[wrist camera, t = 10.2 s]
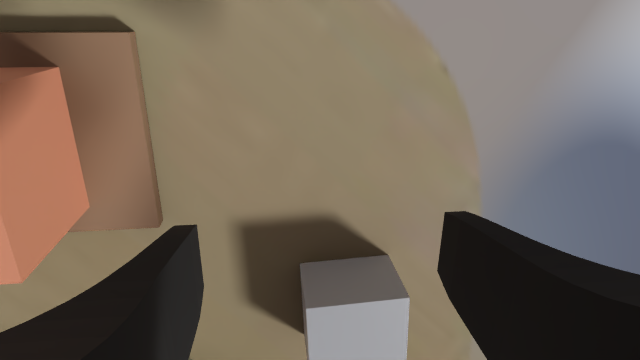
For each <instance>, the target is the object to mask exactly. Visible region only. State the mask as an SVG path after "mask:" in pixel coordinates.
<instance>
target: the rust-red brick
mask: <svg viewBox="0 0 640 360" xmlns="http://www.w3.org/2000/svg"><path fill="white" fill-rule="evenodd" d="M89 207H90V206H89V201H88V197H87V192H86V188H85V183H84V179H83V174H82V170H81V165H80V161H79V156H78V152H77V147H76V143H75V138H74V134H73V129H72V125H71V120H70V116H69V111H68V106H67V102H66V97H65V93H64V88H63V84H62V79H61V75H60V70H59V67H4V68H0V284H14V283H23V281H24V280H25V279H26V278H27V277H28V276H29V275H30V274H31V272H32V271H33V270H34V269H35V268H36V267H37V266H38V265H39V263H40V262H41V261H42V260H43V259H44V258H45V257H46V256H47V254H48V253H49V252H50V251H51V250H52V249H53V248H54V247H55V245H56V244H57V243H58V242H59V241H60V240H61V239H62V238H63V236H64V235H65V234H66V233H67V232H68V231H69V230H70V229H71V227H72V226H73V225H74V224H75V223H76V222H77V221H78V220H79V218H80V217H81V216H82V215H83V214H84V213H85V212H86V211H87V209H88V208H89Z"/></svg>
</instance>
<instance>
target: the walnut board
mask: <svg viewBox="0 0 640 360" xmlns="http://www.w3.org/2000/svg"><path fill="white" fill-rule="evenodd" d="M4 67H59V70H60V75H61V79H62V84H63V88H64V93H65V97H66V102H67V106H68V111H69V116H70V120H71V125H72V129H73V134H74V138H75V143H76V147H77V152H78V156H79V161H80V165H81V170H82V174H83V179H84V183H85V188H86V192H87V197H88V201H89V206H90V207H89V208H88V209H87V211H86V212H85V213H84V214H83V215H82V216H81V217H80V218H79V220H78V221H77V222H76V223H75V224H74V225H73V226H72V227H71V229H70V230H69V231H68V232H78V231H98V230H118V229H138V228H158V227H160V225H161V223H162V221H163V217H162V210H161V204H160V197H159V190H158V184H157V177H156V170H155V164H154V157H153V150H152V144H151V137H150V130H149V124H148V117H147V110H146V104H145V97H144V90H143V84H142V77H141V70H140V64H139V57H138V50H137V44H136V37H135V32H0V68H4Z"/></svg>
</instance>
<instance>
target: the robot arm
mask: <svg viewBox="0 0 640 360" xmlns="http://www.w3.org/2000/svg"><path fill="white" fill-rule="evenodd" d="M437 271H438V274H439V276H440V278H441V281H442V283H443V286H444V288H445V290H446V292H447V295H448V297H449V299H450V301H451V302H452V304H453V306H454V307H455V309H456V311H457V312H458V314H459V315H460V317H461V319H462V320H463V322H464V323H465V325H466V327H467V328H468V330H469V331H470V333H471V335H472V336H473V338H474V339H475V341H476V342H477V344H478V345H479V347H480V349H481V350H482V352H483V354H484V355H485V357H486V358H487V360H640V275H639V274H634V273H630V272H626V271H622V270H619V269H615V268H612V267H608V266H605V265H601V264H598V263H595V262H592V261H589V260H585V259H583V258H579V257H576V256H573V255H571V254H568V253H565V252H562V251H560V250H557V249H555V248H552V247H550V246H547V245H545V244H542V243H540V242H537V241H535V240H532V239H530V238H528V237H525V236H523V235H520V234H519V233H516V232H514V231H512V230H510V229H507V228H505V227H502V226H501V225H498V224H496V223H494V222H492V221H489V220H487V219H485V218H482V217H480V216H477V215H475V214H472V213H469V212H466V211H459V212H445V215H444V223H443V231H442V239H441V246H440V254H439V262H438V270H437ZM203 289H204V283H203V274H202V266H201V257H200V249H199V240H198V232H197V225H181V226H173V227H172V228H170V229H169V230H168V231H166V232H165V233H164V234H163V235H161V236H160V237H159V238H158V239H157V240H155V241H154V242H153V243H152V244H151V245H149V246H148V247H147V248H146V249H144V250H143V251H142V252H141V253H139V254H138V255H137V256H136V257H134V258H133V259H132V260H130V261H129V262H128V263H126V264H125V265H123V266H122V267H121V268H119V269H118V270H116V271H115V272H114V273H112V274H111V275H109V276H108V277H107V278H105V279H104V280H102V281H101V282H99V283H98V284H96V285H94V286H93V287H91V288H90V289H88V290H86V291H84V292H83V293H81V294H79V295H78V296H76V297H74V298H72V299H71V300H69V301H67V302H65V303H63V304H61V305H59V306H57V307H55V308H53V309H51V310H49V311H47V312H45V313H43V314H41V315H39V316H37V317H35V318H33V319H31V320H29V321H26V322H24V323H22V324H20V325H17V326H15V327H13V328H10V329H8V330H6V331H3V332H1V333H0V360H188V359H189V356H190V352H191V348H192V345H193V341H194V337H195V334H196V330H197V326H198V322H199V319H200V313H201V306H202V298H203Z"/></svg>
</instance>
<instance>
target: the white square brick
mask: <svg viewBox="0 0 640 360" xmlns="http://www.w3.org/2000/svg"><path fill="white" fill-rule="evenodd" d="M300 274H301V290H302V306H303V321H304V336H305V344H306V353H307V360H406V357H407V338H408V320H409V301H410V297H409V295H408V293H407V291H406V289H405V287H404V285H403V283H402V281H401V279H400V277H399V275H398V273H397V271H396V269H395V267H394V265H393V263H392V261H391V259H390V257H389V255H381V256H370V257H360V258H350V259H339V260H329V261H319V262H309V263H300Z"/></svg>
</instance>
